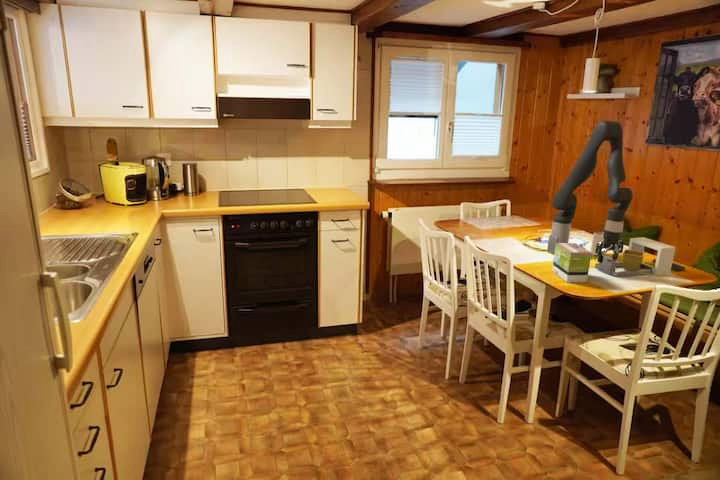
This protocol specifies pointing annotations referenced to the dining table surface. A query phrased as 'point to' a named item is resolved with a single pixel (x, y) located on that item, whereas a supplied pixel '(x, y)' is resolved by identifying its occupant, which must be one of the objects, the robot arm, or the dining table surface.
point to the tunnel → (663, 255)
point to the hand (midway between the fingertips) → (606, 261)
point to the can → (596, 237)
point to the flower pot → (631, 259)
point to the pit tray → (674, 266)
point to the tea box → (571, 262)
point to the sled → (610, 265)
